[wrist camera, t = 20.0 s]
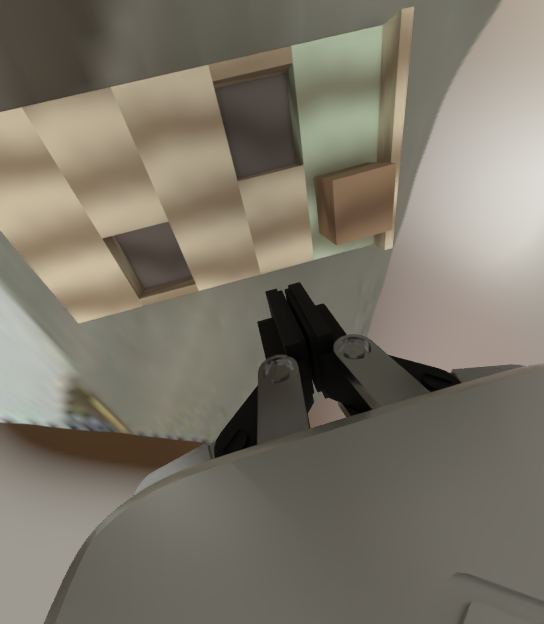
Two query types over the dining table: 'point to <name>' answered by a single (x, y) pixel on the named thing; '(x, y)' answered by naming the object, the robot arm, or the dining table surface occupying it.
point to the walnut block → (355, 201)
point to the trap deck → (199, 169)
